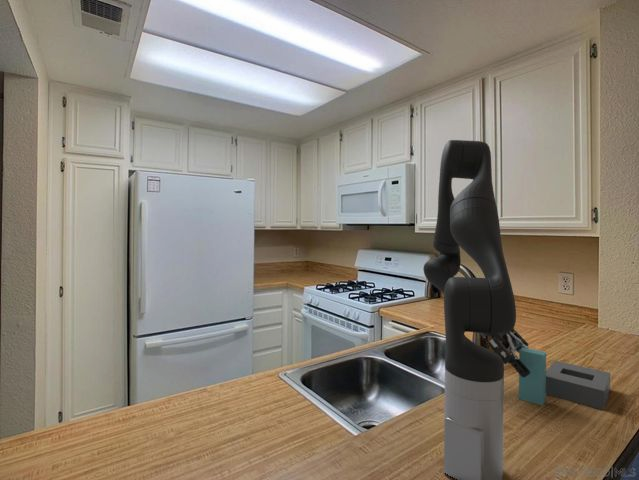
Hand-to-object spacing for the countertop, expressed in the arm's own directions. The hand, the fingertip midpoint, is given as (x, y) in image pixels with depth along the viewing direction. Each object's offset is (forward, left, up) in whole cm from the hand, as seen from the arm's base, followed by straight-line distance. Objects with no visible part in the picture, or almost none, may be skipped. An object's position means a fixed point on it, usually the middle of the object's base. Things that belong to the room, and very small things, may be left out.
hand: (532, 370), depth 83 cm
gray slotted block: (+13, -7, -7) cm, 16 cm away
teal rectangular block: (0, 0, -7) cm, 7 cm away
